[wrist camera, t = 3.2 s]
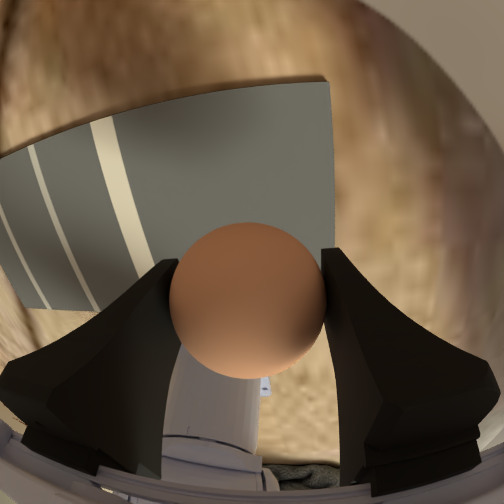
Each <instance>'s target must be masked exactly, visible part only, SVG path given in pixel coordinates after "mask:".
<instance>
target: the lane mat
mask: <svg viewBox="0 0 504 504" xmlns="http://www.w3.org/2000/svg"><path fill="white" fill-rule="evenodd" d="M243 222H253V223H262V224H266V225H270V226H273V227H276V228H279V229H281V230H283V231H285V232H287V233H289V234H290V235H292V236H293V237H295V238H296V239H297V240H298V241H300V242H301V243H302V244H303V245H304V246H305V247H306V248H307V249H308V251H309V252H310V253H311V254H312V256H313V257H314V259H315V260H316V262H317V264H318V266H319V268H320V270H321V249H323V248H334V245H335V180H334V148H333V127H332V111H331V98H330V85H329V82H302V83H286V84H273V85H263V86H253V87H245V88H237V89H230V90H223V91H216V92H210V93H204V94H199V95H193V96H188V97H183V98H178V99H173V100H169V101H164V102H160V103H156V104H152V105H148V106H144V107H140V108H136V109H132V110H128V111H125V112H121V113H118V114H114V115H111V116H108V117H105V118H101V119H98V120H95V121H92V122H89V123H86V124H83V125H80V126H77V127H75V128H72V129H69V130H66V131H64V132H61V133H58V134H56V135H53V136H51V137H48V138H46V139H43V140H41V141H38V142H36V143H34V144H31V145H29V146H27V147H25V148H22V149H20V150H18V151H16V152H14V153H12V154H9V155H7V156H5V157H3V158H1V159H0V264H1V266H2V268H3V270H4V272H5V274H6V275H7V277H8V279H9V281H10V283H11V285H12V286H13V288H14V290H15V291H16V293H17V295H18V297H19V298H20V300H21V302H22V303H23V305H24V306H25V308H37V309H48V310H52V309H53V310H73V311H95V312H101V311H102V310H104V309H105V308H106V307H107V306H109V305H110V304H111V303H112V302H113V301H115V300H116V299H117V298H118V297H119V296H121V295H122V294H123V293H124V292H125V291H127V290H128V289H129V288H130V287H131V286H132V285H133V284H134V283H135V282H137V281H138V280H139V279H140V278H141V277H142V276H143V275H144V274H146V273H147V272H148V271H149V270H150V269H151V268H152V267H154V266H155V265H156V264H157V263H158V262H160V261H161V260H163V259H175V258H178V260H179V262H180V260H181V259H182V257H183V256H184V254H185V253H186V252H187V251H188V250H189V248H190V247H191V246H192V245H193V244H194V243H195V242H196V241H198V240H199V239H200V238H201V237H203V236H204V235H206V234H208V233H209V232H211V231H213V230H215V229H217V228H220V227H222V226H226V225H230V224H235V223H243Z"/></svg>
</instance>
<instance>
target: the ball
mask: <svg viewBox="0 0 504 504" xmlns="http://www.w3.org/2000/svg"><path fill="white" fill-rule="evenodd" d="M169 306H170V314H171V319H172V322H173V326H174V329H175V331H176V333H177V335H178V337H179V339H180V341H181V343H182V344H183V345H184V347H185V348H186V349H187V351H188V352H189V353H190V354H191V355H192V356H193V357H194V358H195V359H196V360H197V361H199V362H200V363H201V364H203V365H204V366H206V367H207V368H209V369H211V370H212V371H215V372H217V373H219V374H222V375H225V376H229V377H234V378H241V379H256V378H263V377H268V376H271V375H274V374H277V373H279V372H281V371H284V370H286V369H287V368H289V367H291V366H292V365H293V364H295V363H296V362H298V361H299V360H300V359H301V358H302V357H303V356H304V355H305V354H306V353H307V352H308V351H309V350H310V348H311V347H312V346H313V344H314V343H315V341H316V339H317V337H318V335H319V334H320V332H321V329H322V326H323V323H324V320H325V314H326V307H327V295H326V286H325V282H324V278H323V275H322V272H321V270H320V268H319V266H318V264H317V262H316V260H315V259H314V257H313V256H312V254H311V253H310V252H309V251H308V249H307V248H306V247H305V246H304V245H303V244H302V243H301V242H300V241H298V240H297V239H296V238H295V237H293V236H292V235H290V234H289V233H287V232H285V231H283V230H281V229H279V228H276V227H273V226H270V225H266V224H262V223H253V222H243V223H235V224H230V225H226V226H222V227H220V228H217V229H215V230H213V231H211V232H209V233H208V234H206V235H204V236H203V237H201V238H200V239H199V240H198V241H196V242H195V243H194V244H193V245H192V246H191V247H190V248H189V250H188V251H187V252H186V253H185V254H184V256H183V257H182V259H181V260H180V262H179V264H178V266H177V268H176V270H175V273H174V275H173V278H172V282H171V287H170V295H169Z"/></svg>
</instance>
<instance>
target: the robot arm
mask: <svg viewBox="0 0 504 504" xmlns="http://www.w3.org/2000/svg"><path fill="white" fill-rule="evenodd" d="M178 264H179V260H178V258H175V259H163V260H161V261H160V262H158V263H157V264H156V265H155V266H154V267H152V268H151V269H150V270H149V271H148V272H147V273H146V274H144V275H143V276H142V277H141V278H140V279H139V280H138V281H137V282H135V283H134V284H133V285H132V286H131V287H130V288H129V289H128V290H127V291H125V292H124V293H123V294H122V295H121V296H119V297H118V298H117V299H116V300H115V301H113V302H112V303H111V304H110V305H109V306H107V307H106V308H105V309H104V310H102V311H101V312H100V313H99V314H97V315H96V316H94V317H93V318H92V319H90V320H89V321H87V322H86V323H85V324H83V325H82V326H80V327H78V328H77V329H75V330H73V331H72V332H70V333H69V334H67V335H65V336H64V337H62V338H60V339H59V340H57V341H55V342H53V343H51V344H49V345H47V346H45V347H43V348H41V349H39V350H37V351H34V352H32V353H30V354H27V355H25V356H22V357H20V358H17V359H15V360H12V361H9V362H8V363H7V365H6V366H5V368H4V370H3V371H2V373H1V375H0V401H1V402H2V403H3V404H4V405H5V406H6V407H7V408H9V410H10V411H11V412H13V413H14V414H15V415H16V416H17V417H18V418H19V419H20V420H21V421H23V422H24V423H25V424H26V425H27V428H26V430H25V432H24V435H22V434H20V433H18V432H16V431H14V430H12V428H11V427H10V426H9V425H8V424H6V423H5V422H4V421H3V420H1V419H0V490H1V491H2V492H4V493H5V494H6V495H7V496H9V497H10V498H11V499H12V500H14V501H15V502H16V503H17V504H504V442H503V443H501V444H499V445H496V446H494V447H492V448H490V449H487V450H485V451H482V452H479V448H478V444H477V441H476V439H478V438H479V437H480V431H479V427H478V424H479V423H480V422H481V421H482V420H483V419H484V418H485V417H486V415H487V414H488V413H489V412H490V411H491V410H492V409H493V407H494V406H495V405H496V403H497V402H498V399H499V397H500V394H501V393H500V389H499V386H498V384H497V381H496V379H495V376H494V374H493V372H492V370H491V368H490V366H489V364H488V362H487V361H485V360H483V359H481V358H479V357H476V356H474V355H472V354H470V353H468V352H465V351H463V350H461V349H459V348H457V347H455V346H453V345H451V344H450V343H448V342H446V341H444V340H442V339H441V338H439V337H437V336H436V335H434V334H432V333H431V332H429V331H428V330H426V329H425V328H423V327H422V326H420V325H419V324H417V323H416V322H414V321H413V320H412V319H410V318H409V317H407V316H406V315H405V314H404V313H402V312H401V311H400V310H399V309H397V308H396V307H395V306H394V305H392V304H391V303H390V302H389V301H388V300H387V299H386V298H385V297H384V296H383V295H382V294H380V293H379V292H378V291H377V290H376V289H375V288H374V287H373V286H372V285H371V284H370V282H369V281H368V280H367V279H366V278H365V277H364V276H363V275H362V274H361V273H360V272H359V271H358V269H357V268H356V267H355V266H354V265H353V264H352V263H351V261H350V260H349V259H348V258H347V257H346V255H345V254H344V253H343V252H342V250H341V249H340V248H323V249H321V272H322V275H323V278H324V282H325V286H326V295H327V307H326V314H325V320H324V325H325V329H326V334H327V339H328V343H329V348H330V352H331V357H332V362H333V367H334V372H335V379H336V388H337V400H338V416H339V439H340V487H336V488H326V489H313V490H293V491H280V488H279V484H278V481H277V479H276V478H275V476H274V475H273V474H272V472H271V471H270V470H269V469H267V468H262V456H258V455H256V449H257V441H258V427H259V412H260V397H266V396H270V395H271V385H270V379H269V376H268V377H263V378H256V379H241V378H234V377H229V376H225V375H222V374H219V373H217V372H215V371H212V370H211V369H209V368H207V367H206V366H204V365H203V364H201V363H200V362H199V361H197V360H196V359H195V358H194V357H193V356H192V355H191V354H190V353H189V352H188V351H187V349H186V348H185V347H184V345H183V344H182V343H181V341H180V339H179V337H178V335H177V333H176V331H175V329H174V326H173V322H172V319H171V314H170V306H169V295H170V287H171V282H172V278H173V275H174V273H175V270H176V268H177V266H178ZM101 487H102V488H106V489H108V490H111V491H113V494H112V493H109V492H107V491H104V490H102V488H101Z"/></svg>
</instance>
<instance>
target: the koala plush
mask: <svg viewBox="0 0 504 504" xmlns="http://www.w3.org/2000/svg"><path fill="white" fill-rule="evenodd" d="M262 468H267V469H269V470H270V471H271V472H272V474H273V475H274V476H275V478H276V479H277V481H278V484H279V488H280V491H293V490H313V489H326V488H336V487H340V468H333V467H329V466H328V465H315V464H314V465H306V466H288V465H272V464H269V465H262Z"/></svg>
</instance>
